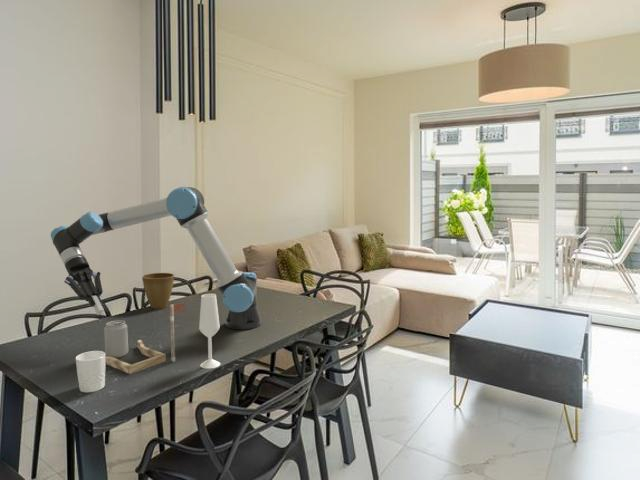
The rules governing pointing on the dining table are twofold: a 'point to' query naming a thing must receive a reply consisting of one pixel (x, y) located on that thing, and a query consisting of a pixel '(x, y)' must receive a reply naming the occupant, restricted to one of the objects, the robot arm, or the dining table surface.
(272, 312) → the dining table surface
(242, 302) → the robot arm
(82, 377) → the white cup
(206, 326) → the champagne flute
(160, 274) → the plant pot
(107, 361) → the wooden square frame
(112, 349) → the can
